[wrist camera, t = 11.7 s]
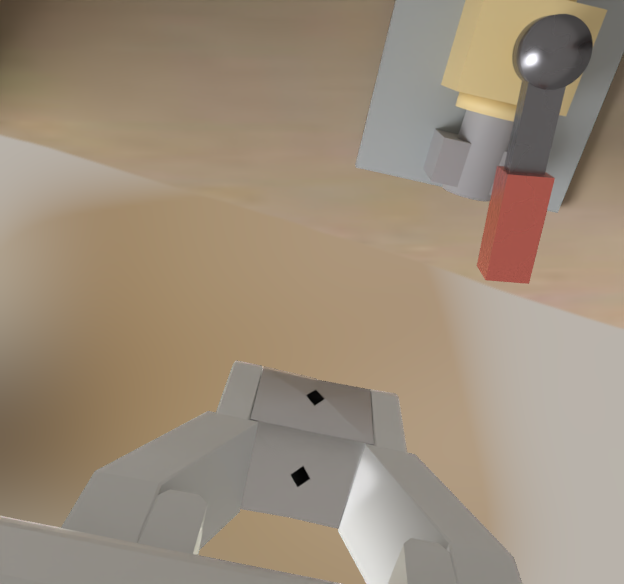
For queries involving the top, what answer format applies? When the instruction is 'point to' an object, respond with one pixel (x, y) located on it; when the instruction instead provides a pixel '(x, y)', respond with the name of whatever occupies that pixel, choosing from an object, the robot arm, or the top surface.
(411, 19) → the valve assembly
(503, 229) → the lever
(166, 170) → the top surface
